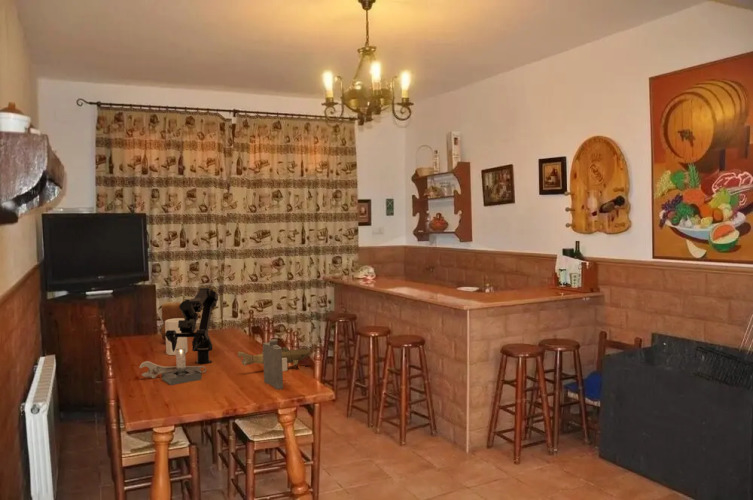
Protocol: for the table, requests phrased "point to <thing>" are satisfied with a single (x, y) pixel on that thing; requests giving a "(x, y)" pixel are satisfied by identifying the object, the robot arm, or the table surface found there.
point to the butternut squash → (170, 314)
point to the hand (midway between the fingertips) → (183, 350)
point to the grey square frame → (181, 376)
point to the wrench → (163, 369)
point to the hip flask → (273, 364)
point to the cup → (181, 341)
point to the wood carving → (286, 357)
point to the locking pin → (180, 361)
